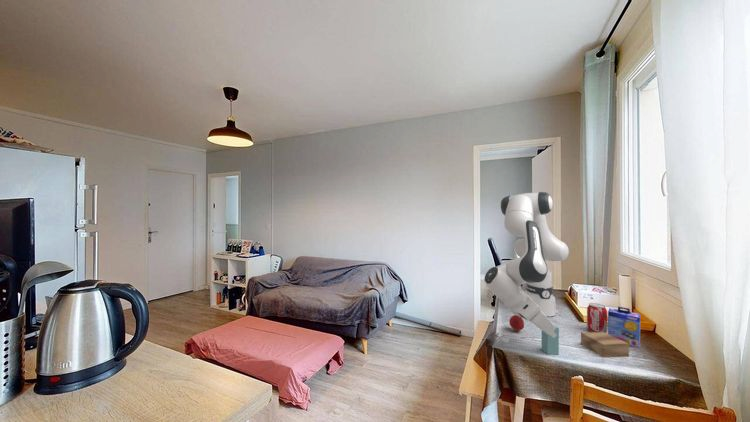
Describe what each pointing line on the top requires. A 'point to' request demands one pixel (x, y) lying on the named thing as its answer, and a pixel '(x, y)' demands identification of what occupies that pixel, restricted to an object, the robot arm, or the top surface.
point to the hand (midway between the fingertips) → (546, 330)
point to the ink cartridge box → (624, 325)
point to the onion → (516, 323)
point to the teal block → (550, 343)
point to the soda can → (596, 318)
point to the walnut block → (605, 344)
